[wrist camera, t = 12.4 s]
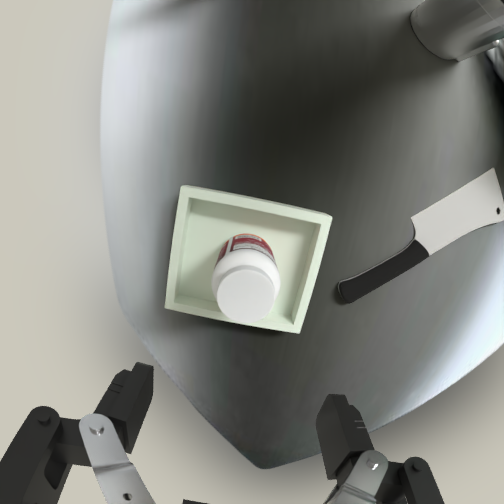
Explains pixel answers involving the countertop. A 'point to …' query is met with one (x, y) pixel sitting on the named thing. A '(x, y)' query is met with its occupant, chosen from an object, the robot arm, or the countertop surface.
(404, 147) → the countertop surface
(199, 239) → the collection tray
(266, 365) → the countertop surface
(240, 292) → the pill bottle
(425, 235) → the kitchen cleaver
